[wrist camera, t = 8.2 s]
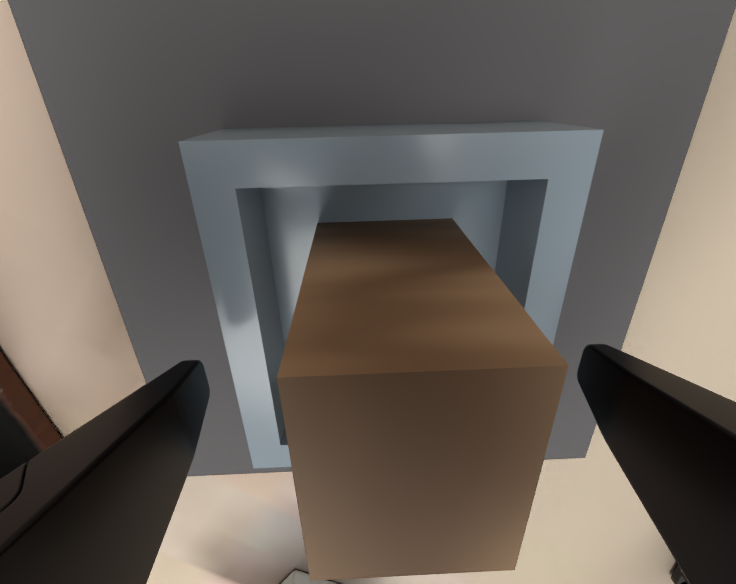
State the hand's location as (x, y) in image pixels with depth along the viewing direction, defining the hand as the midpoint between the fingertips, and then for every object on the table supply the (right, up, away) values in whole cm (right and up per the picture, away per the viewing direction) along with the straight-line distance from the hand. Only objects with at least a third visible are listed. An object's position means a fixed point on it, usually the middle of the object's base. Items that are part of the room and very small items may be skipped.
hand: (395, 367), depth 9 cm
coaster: (0, +2, +4) cm, 5 cm away
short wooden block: (0, +2, +3) cm, 4 cm away
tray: (0, +2, +4) cm, 5 cm away
